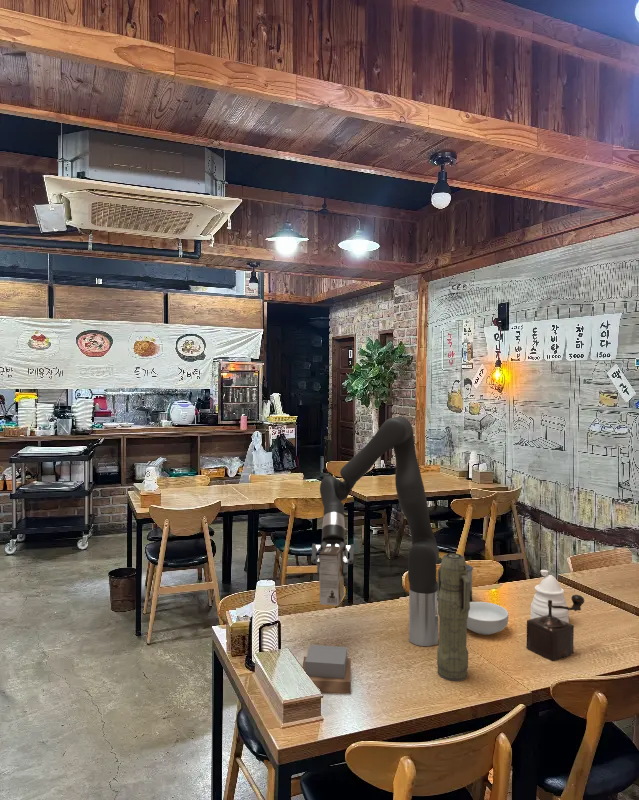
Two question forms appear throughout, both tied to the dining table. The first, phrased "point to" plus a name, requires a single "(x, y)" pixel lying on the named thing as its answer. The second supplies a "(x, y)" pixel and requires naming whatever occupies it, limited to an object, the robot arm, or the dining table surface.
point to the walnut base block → (334, 681)
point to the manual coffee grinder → (552, 633)
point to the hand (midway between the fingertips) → (332, 575)
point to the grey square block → (326, 661)
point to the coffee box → (331, 575)
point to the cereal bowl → (486, 618)
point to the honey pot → (549, 591)
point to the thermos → (453, 617)
